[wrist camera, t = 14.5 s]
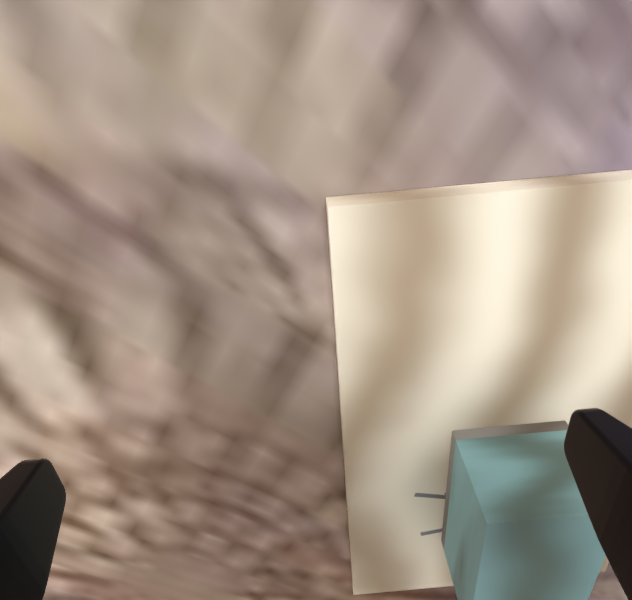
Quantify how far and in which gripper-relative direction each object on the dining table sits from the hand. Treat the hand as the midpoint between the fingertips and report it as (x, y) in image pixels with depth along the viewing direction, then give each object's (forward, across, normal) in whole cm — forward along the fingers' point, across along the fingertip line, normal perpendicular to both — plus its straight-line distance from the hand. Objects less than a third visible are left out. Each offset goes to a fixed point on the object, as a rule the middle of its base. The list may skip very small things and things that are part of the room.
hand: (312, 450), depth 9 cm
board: (+12, -9, +13) cm, 20 cm away
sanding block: (+11, -9, +16) cm, 22 cm away
